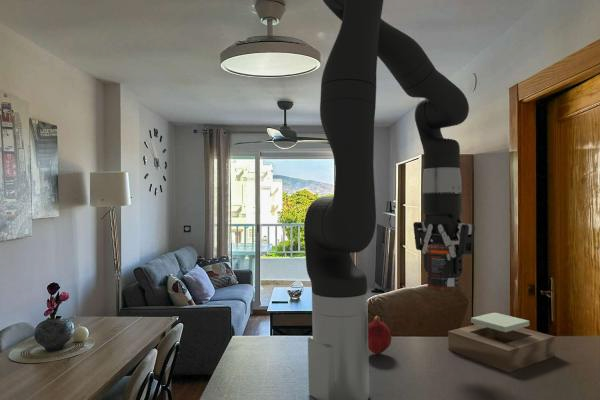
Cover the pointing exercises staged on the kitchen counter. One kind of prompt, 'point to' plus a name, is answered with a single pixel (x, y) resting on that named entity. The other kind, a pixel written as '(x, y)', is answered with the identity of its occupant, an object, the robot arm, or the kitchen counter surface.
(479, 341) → the wooden tray
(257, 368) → the kitchen counter surface
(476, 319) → the plate
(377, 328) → the pomegranate
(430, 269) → the supplement bottle
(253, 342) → the kitchen counter surface
